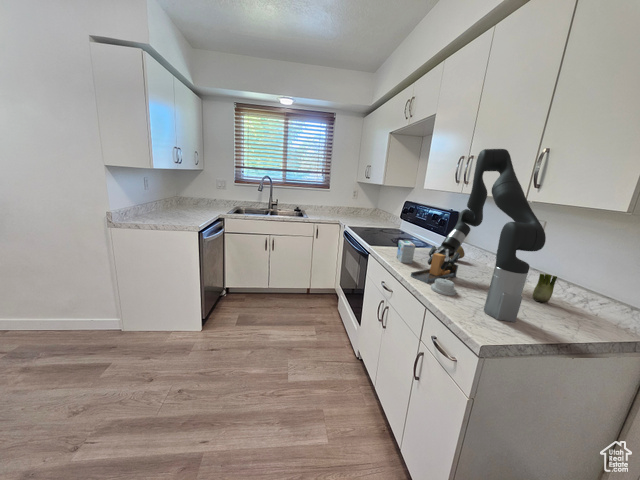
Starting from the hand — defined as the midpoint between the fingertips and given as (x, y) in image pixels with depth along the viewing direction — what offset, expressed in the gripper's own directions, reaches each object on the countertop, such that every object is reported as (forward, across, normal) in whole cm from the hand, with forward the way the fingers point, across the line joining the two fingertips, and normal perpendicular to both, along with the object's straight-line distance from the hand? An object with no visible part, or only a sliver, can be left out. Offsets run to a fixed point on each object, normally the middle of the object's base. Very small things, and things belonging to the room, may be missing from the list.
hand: (435, 266), depth 124 cm
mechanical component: (+12, +12, -4) cm, 18 cm away
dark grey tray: (+4, 0, +4) cm, 5 cm away
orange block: (0, 0, +6) cm, 6 cm away
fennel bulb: (-10, +36, +18) cm, 42 cm away
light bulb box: (-1, -23, +9) cm, 25 cm away
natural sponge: (-25, -12, +33) cm, 43 cm away
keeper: (-2, 0, +10) cm, 10 cm away
